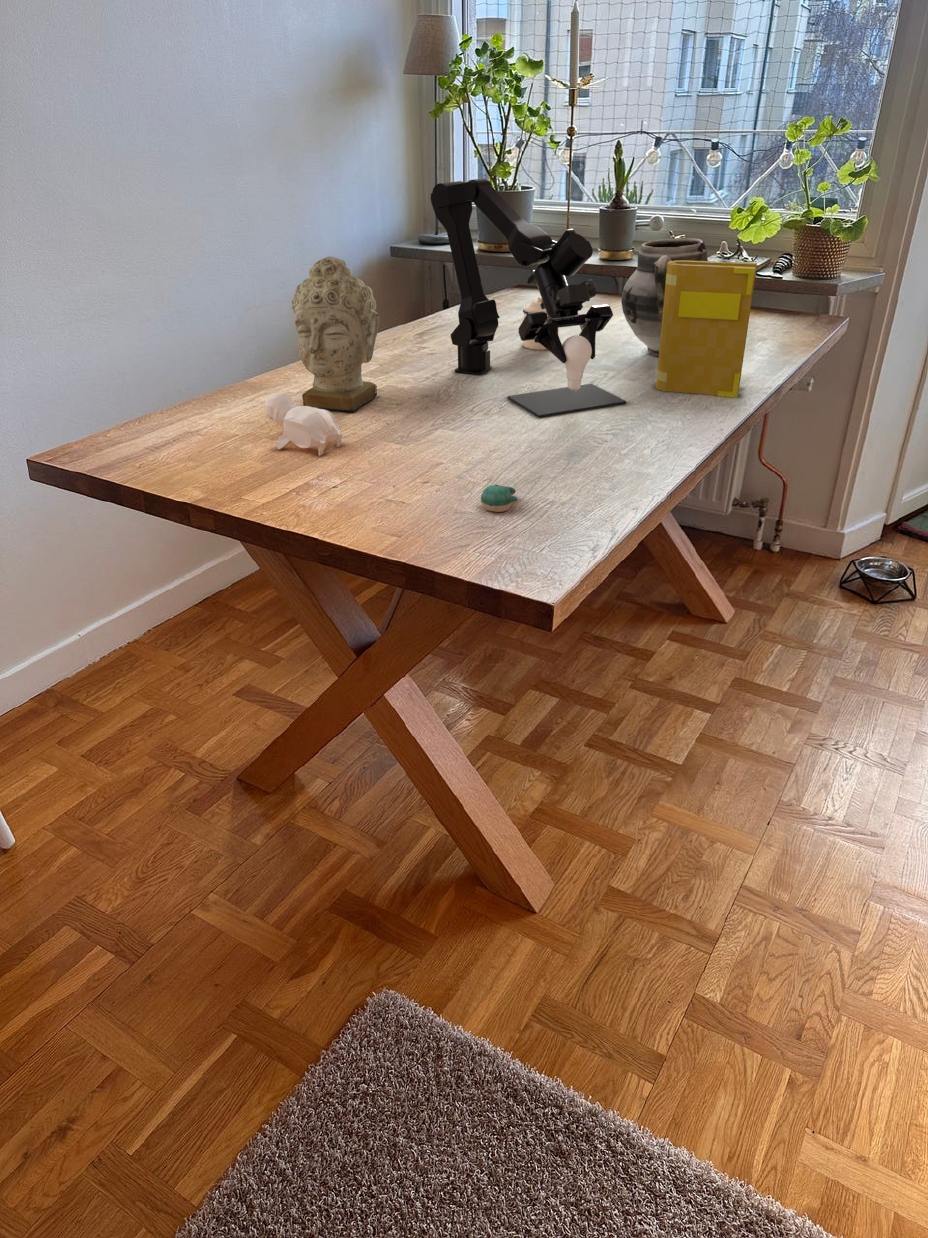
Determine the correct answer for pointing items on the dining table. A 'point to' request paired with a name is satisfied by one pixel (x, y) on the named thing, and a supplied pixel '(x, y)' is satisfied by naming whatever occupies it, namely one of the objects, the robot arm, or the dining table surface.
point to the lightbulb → (576, 359)
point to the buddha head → (335, 335)
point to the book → (704, 326)
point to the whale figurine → (498, 498)
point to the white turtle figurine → (302, 424)
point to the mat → (565, 400)
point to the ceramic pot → (655, 285)
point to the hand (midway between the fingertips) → (579, 360)
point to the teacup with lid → (532, 309)
